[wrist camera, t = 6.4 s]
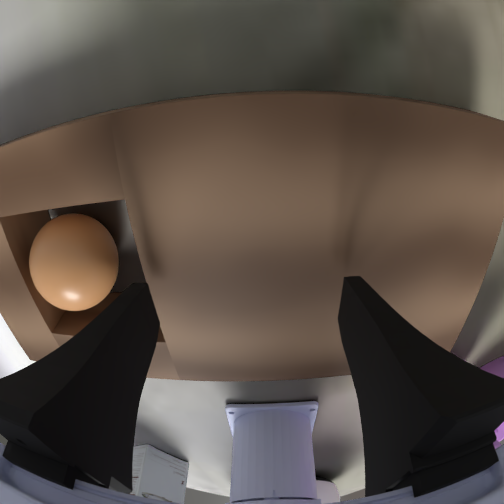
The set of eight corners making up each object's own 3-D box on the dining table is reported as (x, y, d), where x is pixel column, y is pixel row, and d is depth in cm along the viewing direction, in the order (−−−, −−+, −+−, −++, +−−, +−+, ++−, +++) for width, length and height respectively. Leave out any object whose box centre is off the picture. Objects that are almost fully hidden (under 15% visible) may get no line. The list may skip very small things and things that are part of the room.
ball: (37, 322, 14) (81, 270, 18) (102, 339, 13) (144, 275, 17) (-2, 245, 11) (56, 200, 15) (60, 248, 10) (121, 194, 14)
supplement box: (191, 462, 34) (182, 542, 23) (158, 466, 36) (147, 537, 25) (148, 442, 31) (131, 531, 20) (118, 447, 33) (101, 523, 22)
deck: (425, 316, 19) (446, 358, 16) (52, 323, 20) (30, 359, 17) (470, 110, 12) (519, 126, 8) (-13, 150, 13) (-56, 172, 9)
